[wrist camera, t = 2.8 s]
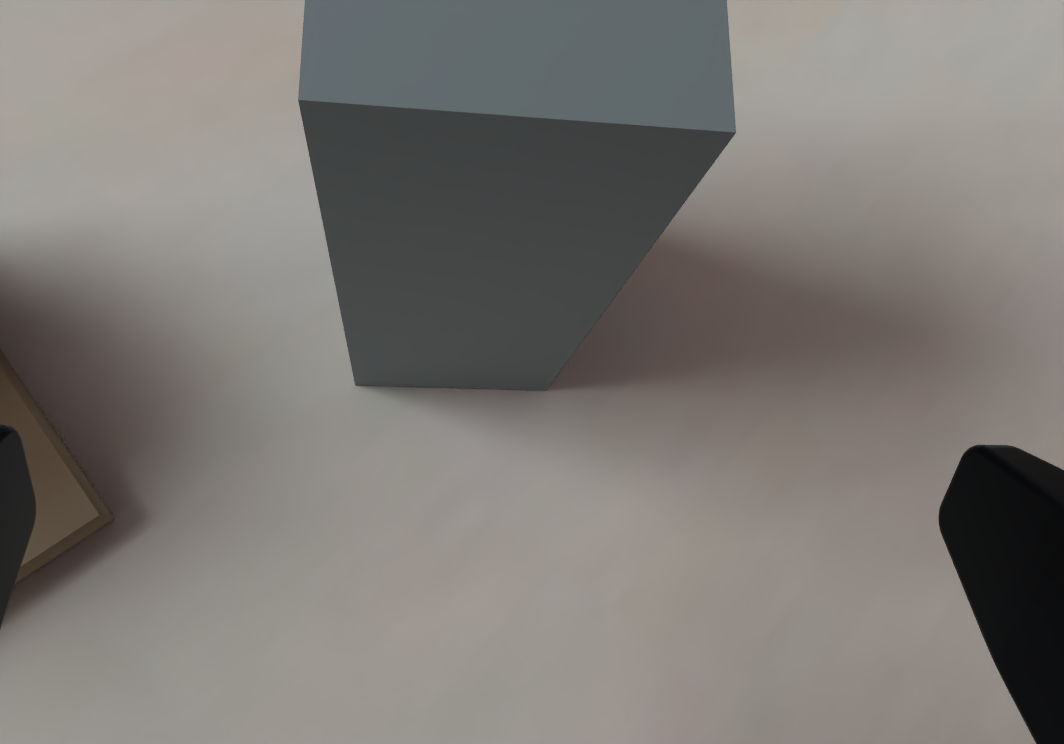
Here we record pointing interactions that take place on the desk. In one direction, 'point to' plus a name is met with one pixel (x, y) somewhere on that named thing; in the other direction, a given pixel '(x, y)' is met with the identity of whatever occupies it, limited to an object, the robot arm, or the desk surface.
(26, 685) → the desk surface
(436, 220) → the block
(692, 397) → the desk surface
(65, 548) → the rail board
